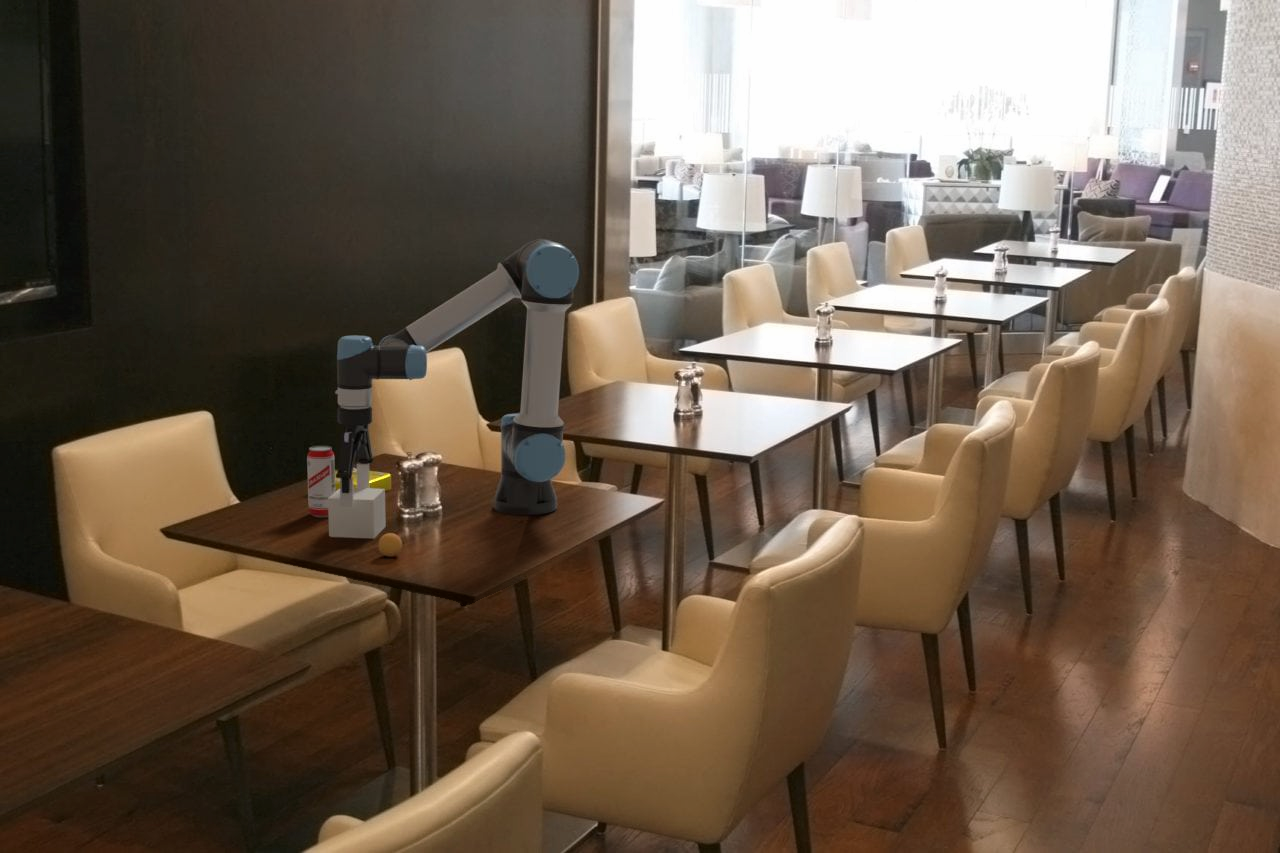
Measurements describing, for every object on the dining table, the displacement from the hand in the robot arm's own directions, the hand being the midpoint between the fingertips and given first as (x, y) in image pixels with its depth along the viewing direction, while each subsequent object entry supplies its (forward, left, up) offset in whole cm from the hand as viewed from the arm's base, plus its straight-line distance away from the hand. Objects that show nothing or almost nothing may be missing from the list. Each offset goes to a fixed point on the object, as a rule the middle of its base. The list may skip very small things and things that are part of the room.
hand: (355, 499), depth 335 cm
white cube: (0, 0, -8) cm, 8 cm away
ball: (-12, +18, -5) cm, 22 cm away
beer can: (+12, -13, -8) cm, 19 cm away
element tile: (+11, -36, -8) cm, 39 cm away
